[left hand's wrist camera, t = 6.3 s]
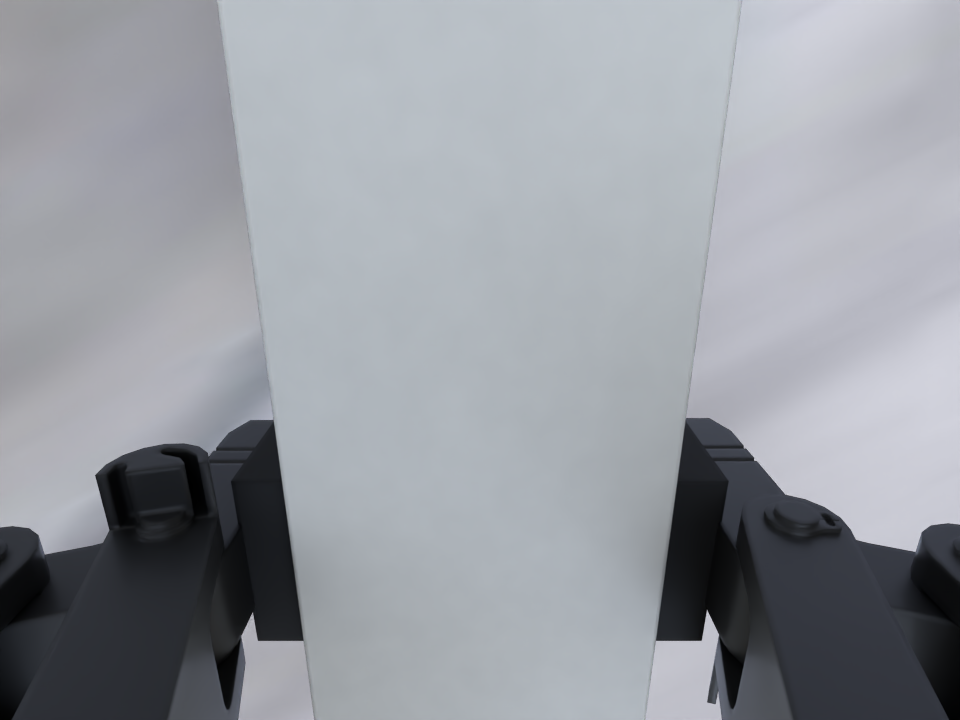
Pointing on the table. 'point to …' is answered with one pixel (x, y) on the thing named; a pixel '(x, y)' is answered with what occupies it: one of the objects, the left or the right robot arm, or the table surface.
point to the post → (479, 332)
